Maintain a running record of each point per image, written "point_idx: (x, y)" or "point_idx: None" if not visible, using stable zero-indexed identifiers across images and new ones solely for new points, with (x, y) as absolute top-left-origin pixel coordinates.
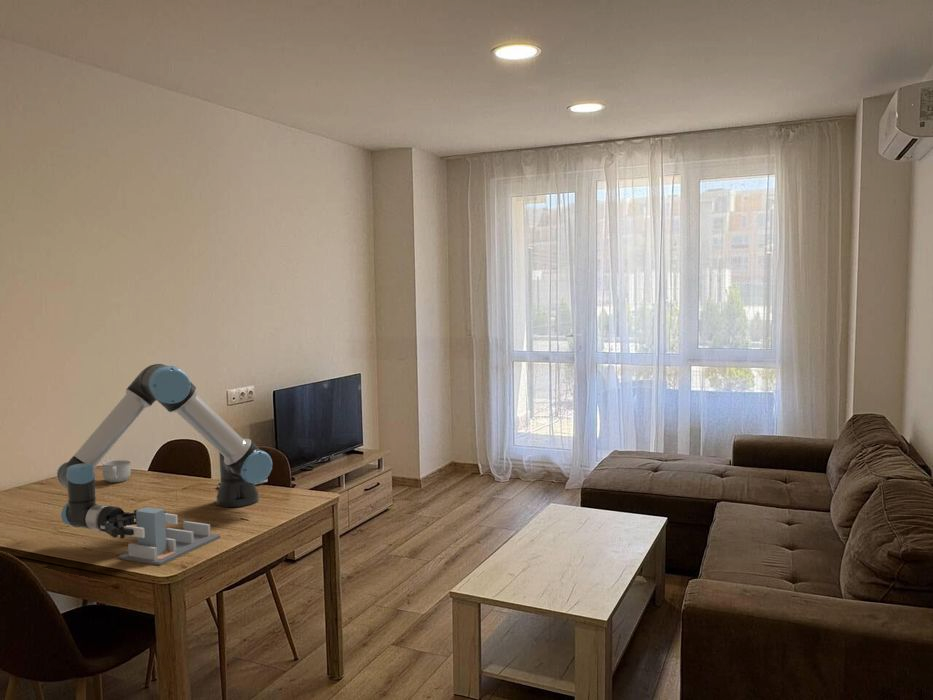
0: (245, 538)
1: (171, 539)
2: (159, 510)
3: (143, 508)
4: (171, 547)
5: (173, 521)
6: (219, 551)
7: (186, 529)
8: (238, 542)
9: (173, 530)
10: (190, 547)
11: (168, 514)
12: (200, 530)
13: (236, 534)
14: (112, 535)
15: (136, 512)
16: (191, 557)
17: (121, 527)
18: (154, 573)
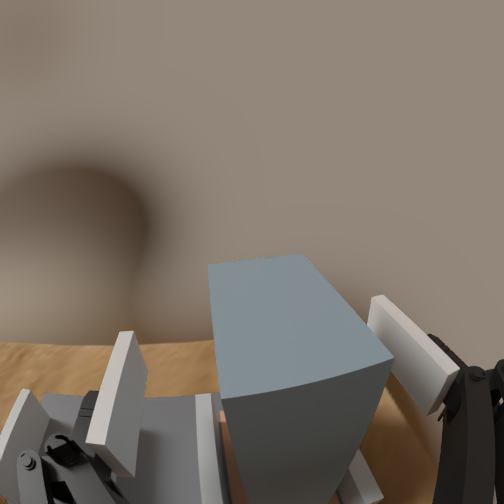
0: (58, 348)
1: (205, 405)
2: (240, 268)
3: (284, 381)
4: (216, 422)
5: (142, 372)
6: (149, 346)
7: (17, 491)
8: (83, 347)
9: None
10: (159, 404)
11: (119, 371)
12: (31, 433)
13: (29, 376)
14: (500, 407)
15: (387, 366)
16: (215, 369)
17: (478, 370)
18: None
